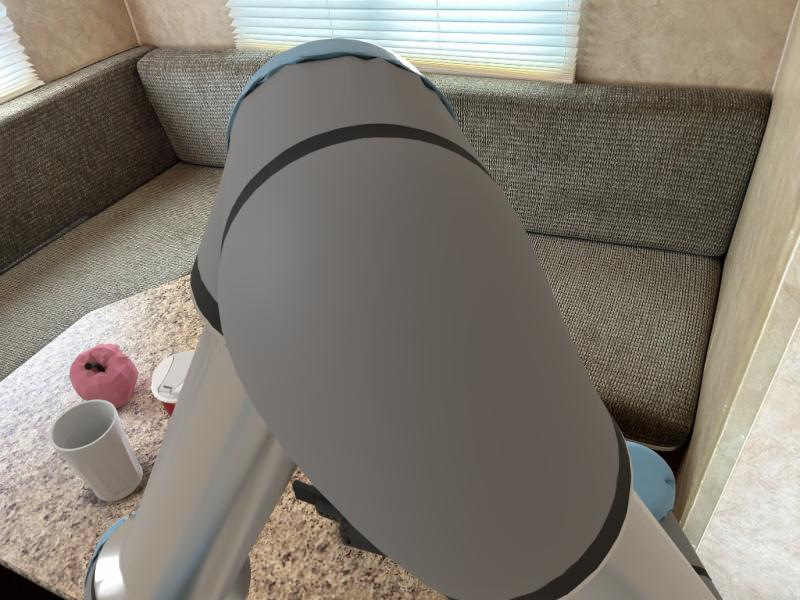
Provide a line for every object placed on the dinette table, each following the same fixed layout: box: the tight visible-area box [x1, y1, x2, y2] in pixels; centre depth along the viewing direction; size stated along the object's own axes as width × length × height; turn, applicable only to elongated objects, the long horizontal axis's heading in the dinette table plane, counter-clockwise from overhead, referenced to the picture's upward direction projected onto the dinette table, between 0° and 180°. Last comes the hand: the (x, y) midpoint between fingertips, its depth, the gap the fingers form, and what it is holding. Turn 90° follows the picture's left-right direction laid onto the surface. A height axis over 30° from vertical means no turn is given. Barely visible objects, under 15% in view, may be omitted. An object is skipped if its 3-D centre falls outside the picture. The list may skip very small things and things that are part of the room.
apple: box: [68, 343, 140, 409], centre depth 91 cm, size 10×9×10 cm
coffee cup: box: [150, 350, 195, 419], centre depth 81 cm, size 8×8×15 cm
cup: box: [48, 400, 144, 502], centre depth 78 cm, size 8×8×12 cm
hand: (311, 464), depth 70 cm, fingers open, 6 cm apart
